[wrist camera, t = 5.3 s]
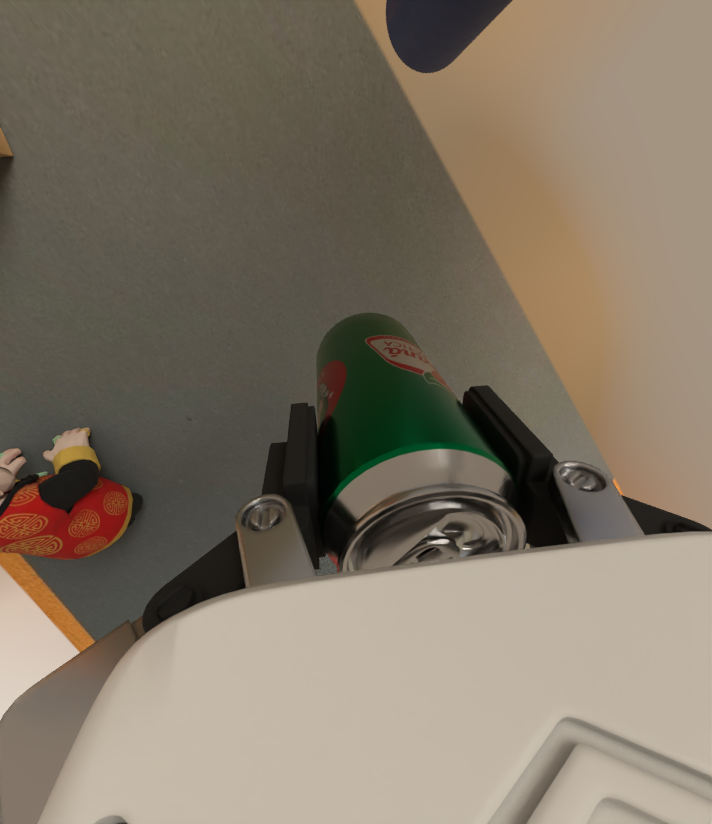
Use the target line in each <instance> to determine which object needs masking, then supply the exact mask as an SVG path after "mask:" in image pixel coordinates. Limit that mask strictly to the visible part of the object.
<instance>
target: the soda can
mask: <svg viewBox="0 0 712 824" xmlns="http://www.w3.org/2000/svg"><path fill="white" fill-rule="evenodd" d="M317 414H318V459H319V508H320V535H321V541H322V544H323V547H324V549H325V551H326V553H327V555H328V556H329V557H330V559H331V560H332V561H333V563H334V564H335V565H336V566H337V569H338V573H343V572H351V571H358V570H366V569H374V568H381V567H389V566H396V565H404V564H411V563H419V562H427V561H435V560H443V559H450V558H458V557H466V556H474V555H482V554H490V553H498V552H506V551H514V550H522V549H525V547H526V537H527V534H526V530H525V525H524V521H523V519H522V517H521V515H520V513H519V502H520V495H519V490H518V485H517V482H516V480H515V478H514V476H513V474H512V472H511V471H510V470H509V468H508V467H507V466H506V464H505V463H504V462H503V460H502V459H501V457H500V456H499V455H498V453H497V452H496V451H495V449H494V448H493V446H492V445H491V444H490V442H489V441H488V440H487V438H486V437H485V436H484V434H483V433H482V431H481V430H480V429H479V427H478V426H477V425H476V423H475V422H474V420H473V419H472V418H471V416H470V415H469V414H468V412H467V411H466V410H465V408H464V407H463V405H462V404H461V403H460V401H459V400H458V399H457V397H456V396H455V394H454V393H453V392H452V390H451V389H450V388H449V386H448V385H447V383H446V382H445V381H444V379H443V378H442V377H441V375H440V374H439V373H438V371H437V370H436V368H435V367H434V366H433V364H432V363H431V362H430V360H429V359H428V357H427V356H426V355H425V353H424V352H423V351H422V349H421V348H420V347H419V345H418V344H417V342H416V341H415V340H414V338H413V337H412V336H411V334H410V333H409V332H408V330H407V329H406V328H405V327H404V326H403V325H402V324H401V323H400V322H398V321H397V320H395V319H393V318H391V317H389V316H386V315H383V314H378V313H361V314H357V315H353V316H350V317H348V318H346V319H344V320H342V321H340V322H339V323H337V324H336V325H335V326H334V327H333V328H331V329H330V331H329V332H328V333H327V334H326V335H325V337H324V339H323V340H322V342H321V344H320V347H319V350H318V354H317Z"/></svg>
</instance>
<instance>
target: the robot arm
mask: <svg viewBox="0 0 712 824" xmlns="http://www.w3.org/2000/svg"><path fill="white" fill-rule="evenodd" d="M463 407H464V408H465V410H466V411H467V412H468V414H469V415H470V416H471V418H472V419H473V420H474V422H475V423H476V425H477V426H478V427H479V429H480V430H481V431H482V433H483V434H484V436H485V437H486V438H487V440H488V441H489V442H490V444H491V445H492V446H493V448H494V449H495V451H496V452H497V453H498V455H499V456H500V457H501V459H502V460H503V462H504V463H505V464H506V466H507V467H508V468H509V470H510V471H511V472H512V474H513V476H514V478H515V480H516V482H517V485H518V490H519V495H520V502H519V513H520V515H521V517H522V519H523V521H524V525H525V530H526V534H527V537H526V543H527V544H529V546H530V549H522V550H514V551H506V552H498V553H490V554H482V555H474V556H466V557H458V558H450V559H443V560H435V561H427V562H419V563H411V564H404V565H396V566H389V567H381V568H374V569H366V570H358V571H351V572H343V573H336V574H329V575H322V576H316V573H315V569H319V557H325V556H326V551H325V549H324V547H323V544H322V541H321V535H320V508H319V459H318V431H317V424H316V416H315V408H314V406H309V407H308V403H297V404H291V411H290V420H289V430H288V439H287V442H280V443H272V444H271V445H270V449H269V455H268V461H267V466H266V472H265V478H264V484H263V489H262V495H260V496H257V497H255V498H253V499H251V500H249V501H248V502H246V503H245V504H244V505H243V506H242V507H241V508H240V509H239V511H238V513H237V515H236V521H235V524H236V530H237V531H235V532H234V533H233V534H231V535H230V536H229V537H227V538H226V539H225V540H224V541H222V542H221V543H220V544H218V545H217V546H216V547H214V548H213V549H212V550H211V551H209V552H208V553H207V554H205V555H204V556H203V557H201V558H200V559H199V560H197V561H196V562H195V563H194V564H192V565H191V566H190V567H188V568H187V569H186V570H184V571H183V572H182V573H180V574H179V575H178V576H177V577H175V578H174V579H173V580H171V581H170V582H169V583H167V584H166V585H165V586H163V587H162V588H161V589H160V590H159V591H158V592H157V593H156V594H155V595H154V596H153V597H152V599H151V600H150V601H149V603H148V604H147V606H146V608H145V611H144V613H143V616H141V617H140V618H138V619H137V620H136V621H134V622H133V623H131V622H130V621H129V620H127V621H125V622H124V623H123V624H121V625H120V626H118V627H117V628H115V629H114V630H112V631H111V632H110V633H108V634H107V635H105V636H104V637H102V638H101V639H99V640H98V641H97V642H95V643H94V644H92V645H91V646H89V647H88V648H86V649H85V650H84V651H82V652H81V653H79V654H78V655H76V656H75V657H73V658H72V659H71V660H69V661H68V662H66V663H65V664H63V665H62V666H60V667H59V668H58V669H56V670H55V671H53V672H52V673H50V674H49V675H48V676H46V677H45V678H43V679H42V680H40V681H39V682H37V683H36V684H35V685H33V686H32V687H30V688H29V689H28V690H27V691H26V692H24V693H23V694H22V695H21V696H20V697H18V698H17V699H16V700H15V701H14V703H13V704H12V705H11V706H10V707H9V709H8V710H7V711H6V712H5V714H4V715H3V717H2V719H1V721H0V824H712V530H711V529H709V528H708V527H706V526H704V525H702V524H700V523H697V522H695V521H692V520H689V519H687V518H684V517H681V516H678V515H676V514H673V513H670V512H667V511H664V510H662V509H659V508H656V507H653V506H650V505H647V504H645V503H642V502H639V501H636V500H633V499H630V498H628V497H625V496H622V495H620V493H619V492H618V490H617V488H616V487H615V485H614V483H613V482H612V480H611V479H610V478H609V477H608V475H607V474H605V473H604V472H603V471H601V470H600V469H598V468H596V467H594V466H592V465H589V464H586V463H583V462H578V461H564V462H560V463H559V462H558V461H557V460H556V459H555V458H554V457H553V454H552V453H551V452H550V451H549V450H548V449H547V448H546V447H545V446H544V444H543V443H542V442H541V441H540V440H539V439H538V438H537V437H536V436H535V435H534V434H533V433H532V432H531V431H530V430H529V429H528V428H527V426H526V425H525V424H524V423H523V422H522V421H521V420H520V419H519V418H518V417H517V416H516V415H515V414H514V413H513V412H512V411H511V410H510V408H509V407H508V406H507V405H506V404H505V403H504V402H503V401H502V400H501V399H500V398H499V397H498V396H497V395H496V394H495V393H494V391H493V390H492V389H491V388H490V387H489V386H475V387H470V388H469V391H466V392H465V393H464V397H463Z"/></svg>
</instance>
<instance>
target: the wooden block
mask: <svg viewBox="0 0 712 824" xmlns="http://www.w3.org/2000/svg"><path fill="white" fill-rule="evenodd" d="M12 156H13V154H12V152H11V149H10V147H9V145H8V143H7V140H6V138H5V136H4V133H3V131H2V129H1V127H0V157H12Z"/></svg>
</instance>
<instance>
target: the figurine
mask: <svg viewBox="0 0 712 824" xmlns="http://www.w3.org/2000/svg"><path fill="white" fill-rule="evenodd" d="M90 432H91V431H90V428H87V427H86V428H83V429H80V428H76V429H73V430H72V431H65V432H64V433H63V434H62V435H57V436H56V437H55V438H54V439H53V443H54V444H55V446H54V448H53V450H52V451H48V450H47V451H45V452H44V453H43V456H44V458H45V459H46V460H48V461H50V462H52V463H53V465H54V470H55V474H53V475H48V472H46V471H45V472H40V473H36V474H32V475H31V474H30V475H28V476H27V477H26V478H23V479H21V480H17V479H16V475H17V473H18V472H19V470H20V468H21V466H22V465H23V464H24V463H25V462H26V459H25V458H24V457H18V458H17V459H15V458H16V456H17V455H19V454H21V451H20V449H18V448H15V449H9V450H6V451H5V452H3V453H0V552H6V553H20V554H28V555H35V556H41V557H47V558H54V559H60V560H68V559H79V558H83V557H88V556H92V555H94V554H96V553H98V552H100V551H102V550H103V549H105V548H107V547H109V546H110V545H112V544H113V543H114V542H115V541H116V540H118V539H119V538H120V537H121V536H122V534H123V533H124V531H125V530H126V528H127V527H129V526H130V525H131V524H132V523H133V521H134V520H135V516H136V514H137V513H138V511H139V510H140V508H141V506H142V502H143V499H142V497H141V496H140V495H139V494H136V493H131V491H130V489H129V488H128V487H126V486H123V485H121V484H118V483H116V482H113V481H110V480H108V479H105V478H103V477H100V476H99V472H100V468H101V466H100V464H99V462H98V459H97V457H96V454H95V452H94V450H93V449H92V448H91V447H89V441H88V436H90ZM12 459H15V460H14V461H13V462H12V463H10V462H11V461H12ZM47 475H48V476H47ZM72 507H73V509H72ZM71 509H72V511H71ZM70 511H71V513H70V514H69V512H70Z"/></svg>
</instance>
